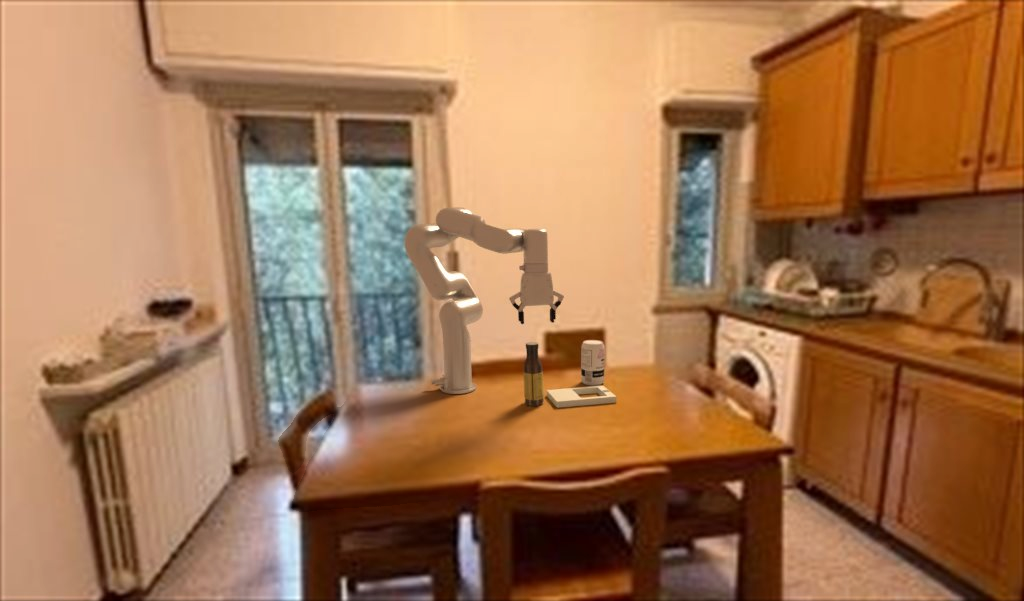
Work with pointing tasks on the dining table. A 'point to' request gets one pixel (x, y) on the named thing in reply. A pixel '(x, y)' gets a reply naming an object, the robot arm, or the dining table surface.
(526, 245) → the robot arm
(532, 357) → the sauce bottle
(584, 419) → the dining table surface
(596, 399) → the board
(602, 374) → the supplement can
